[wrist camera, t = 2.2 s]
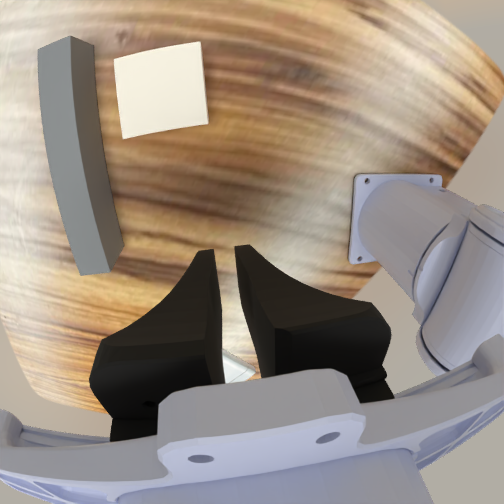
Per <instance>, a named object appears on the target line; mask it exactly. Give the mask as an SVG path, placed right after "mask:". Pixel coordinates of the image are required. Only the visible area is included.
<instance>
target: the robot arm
mask: <svg viewBox="0 0 504 504" xmlns="http://www.w3.org/2000/svg"><path fill="white" fill-rule="evenodd" d="M366 178H368V181H367V182H366V183H365V182H364V181H365V179H366ZM430 178H431V181H429V180H430ZM234 248H235V258H236V268H237V277H238V287H239V293H240V299H241V305H242V309H243V312H244V316H245V319H246V322H247V325H248V328H249V332H250V335H251V338H252V341H253V344H254V347H255V351H256V354H257V358H258V363H259V368H260V373H261V379H255V380H248V381H241V382H234V383H225V375H224V367H223V356H222V305H221V297H220V289H219V282H218V276H217V269H216V262H215V255H214V249H209V250H202V251H198V252H197V254H196V255H195V257H194V259H193V261H192V263H191V264H190V266H189V267H188V269H187V270H186V272H185V273H184V275H183V276H182V278H181V279H180V281H179V282H178V283H177V284H176V286H175V287H174V288H173V289H172V291H171V292H170V293H169V294H168V295H167V296H166V297H165V298H164V299H163V300H162V301H161V302H160V303H159V304H157V305H156V306H155V307H154V308H153V309H151V310H150V311H149V312H148V313H147V314H145V315H144V316H142V317H141V318H140V319H138V320H137V321H135V322H134V323H132V324H130V325H129V326H127V327H126V328H124V329H122V330H120V331H118V332H116V333H114V334H112V335H110V336H108V337H106V338H104V339H102V341H101V343H100V345H99V348H98V350H97V353H96V356H95V360H94V363H93V367H92V370H91V374H90V378H89V383H90V388H91V390H92V391H93V393H94V395H95V396H96V398H97V399H98V400H99V402H100V403H101V404H102V406H103V407H104V408H105V410H106V411H107V412H108V413H109V415H110V416H111V417H112V418H113V419H112V426H111V433H110V437H99V436H88V435H79V434H71V433H64V432H57V431H52V430H46V429H40V428H35V427H31V426H26V425H22V423H21V422H20V421H19V419H17V418H16V417H15V416H14V415H13V414H12V413H10V412H8V411H6V410H2V409H0V480H1V481H3V482H4V483H6V484H7V485H9V486H10V487H12V488H14V489H15V490H18V491H20V492H23V493H25V494H28V495H31V496H33V497H36V498H39V499H41V500H44V501H47V502H50V503H53V504H434V503H433V500H432V498H431V496H430V494H429V492H428V489H427V487H426V485H425V483H424V481H423V479H422V476H421V474H420V472H419V470H421V469H423V468H425V467H426V466H428V465H430V464H432V463H433V462H435V461H437V460H438V459H440V458H441V457H443V456H445V455H446V454H448V453H449V452H451V451H452V450H454V449H455V448H457V447H458V446H459V445H461V444H463V443H464V442H465V441H467V440H468V439H470V438H471V437H472V436H474V435H475V434H476V433H478V432H479V431H481V430H482V429H483V428H485V427H486V426H487V425H489V424H490V423H491V422H492V421H494V420H495V419H496V418H497V417H499V416H500V415H501V414H502V413H503V412H504V212H502V211H500V210H498V209H496V208H494V207H491V206H488V205H485V204H482V205H480V206H477V205H475V204H474V203H472V202H470V201H468V200H466V199H464V198H463V197H461V196H459V195H457V194H455V193H453V192H451V191H449V190H447V189H445V188H443V187H442V177H441V176H440V175H438V174H359V175H357V176H356V177H355V179H354V196H353V211H352V225H351V236H350V247H349V256H348V260H349V262H350V263H351V264H360V263H366V262H373V261H378V262H379V264H380V265H381V266H382V267H383V268H384V269H385V270H386V271H387V272H388V273H389V274H390V275H391V277H392V278H393V279H394V280H395V281H396V282H397V283H398V285H399V286H400V287H401V288H402V289H403V290H404V291H405V292H406V294H407V295H408V296H409V297H410V298H411V299H412V301H413V302H414V303H415V308H414V311H413V314H412V315H413V316H414V318H415V319H416V320H417V321H418V323H419V324H420V325H421V327H420V328H419V330H418V332H417V336H416V345H417V349H418V352H419V354H420V356H421V358H422V359H423V361H424V363H425V364H426V365H427V367H428V368H429V369H430V371H431V372H432V373H434V374H435V375H436V376H437V377H435V378H433V379H431V380H429V381H426V382H424V383H422V384H420V385H417V386H415V387H412V388H410V389H407V390H405V391H402V392H400V393H397V394H394V395H393V393H392V392H391V390H390V388H389V387H388V384H387V383H386V381H385V378H386V377H387V373H386V371H385V369H384V368H383V366H382V364H383V361H384V358H385V356H386V353H387V350H388V347H389V344H390V340H391V329H390V327H389V325H388V324H387V322H386V321H385V319H384V318H383V316H382V315H381V313H380V312H379V311H378V310H377V308H376V307H375V306H374V305H373V304H372V303H371V302H365V301H358V300H353V299H348V298H344V297H340V296H336V295H332V294H329V293H326V292H323V291H320V290H318V289H315V288H313V287H310V286H308V285H306V284H303V283H301V282H299V281H298V280H296V279H294V278H292V277H290V276H288V275H287V274H285V273H284V272H282V271H281V270H279V269H278V268H276V267H275V266H274V265H272V264H271V263H270V262H269V261H267V260H266V259H265V258H264V257H263V256H262V255H260V254H259V253H258V252H257V251H256V250H255V249H254V248H253V247H252V246H251V245H241V246H234ZM360 256H361V257H360ZM358 257H360V258H359V259H358Z"/></svg>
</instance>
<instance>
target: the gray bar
mask: <svg viewBox="0 0 504 504" xmlns="http://www.w3.org/2000/svg"><path fill="white" fill-rule="evenodd" d="M38 81H39V96H40V107H41V117H42V125H43V132H44V139H45V145H46V151H47V157H48V162H49V167H50V172H51V177H52V182H53V186H54V190H55V194H56V199H57V202H58V206H59V210H60V214H61V217H62V221H63V224H64V228H65V231H66V234H67V238H68V241H69V244H70V247H71V250H72V253H73V256H74V259H75V262H76V264H77V267H78V270H79V273H80V275H81V276H82V275H91V274H100V273H109V272H111V270H112V268H113V266H114V264H115V263H116V261H117V259H118V257H119V255H120V253H121V251H122V249H123V247H124V243H123V239H122V235H121V232H120V228H119V223H118V219H117V215H116V211H115V206H114V202H113V197H112V193H111V188H110V183H109V178H108V172H107V167H106V161H105V155H104V149H103V143H102V136H101V129H100V121H99V113H98V104H97V94H96V82H95V66H94V46H93V45H91V44H89V43H87V42H84V41H82V40H80V39H78V38H75V37H73V36H68V37H65V38H63V39H60V40H58V41H56V42H53V43H51V44H49V45H46V46H44V47H42V48H40V49H38Z"/></svg>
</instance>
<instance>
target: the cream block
mask: <svg viewBox="0 0 504 504" xmlns="http://www.w3.org/2000/svg"><path fill="white" fill-rule="evenodd" d="M114 68H115V79H116V89H117V98H118V107H119V115H120V122H121V129H122V136H123V139H126V138H130V137H135V136H139V135H144V134H149V133H154V132H160V131H165V130H171V129H177V128H183V127H190V126H197V125H204V124H208V123H209V116H208V107H207V97H206V86H205V76H204V65H203V54H202V48H201V43H200V42H194V43H187V44H181V45H175V46H169V47H164V48H159V49H154V50H149V51H145V52H140V53H136V54H132V55H128V56H124V57H120V58H117V59H114Z"/></svg>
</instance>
